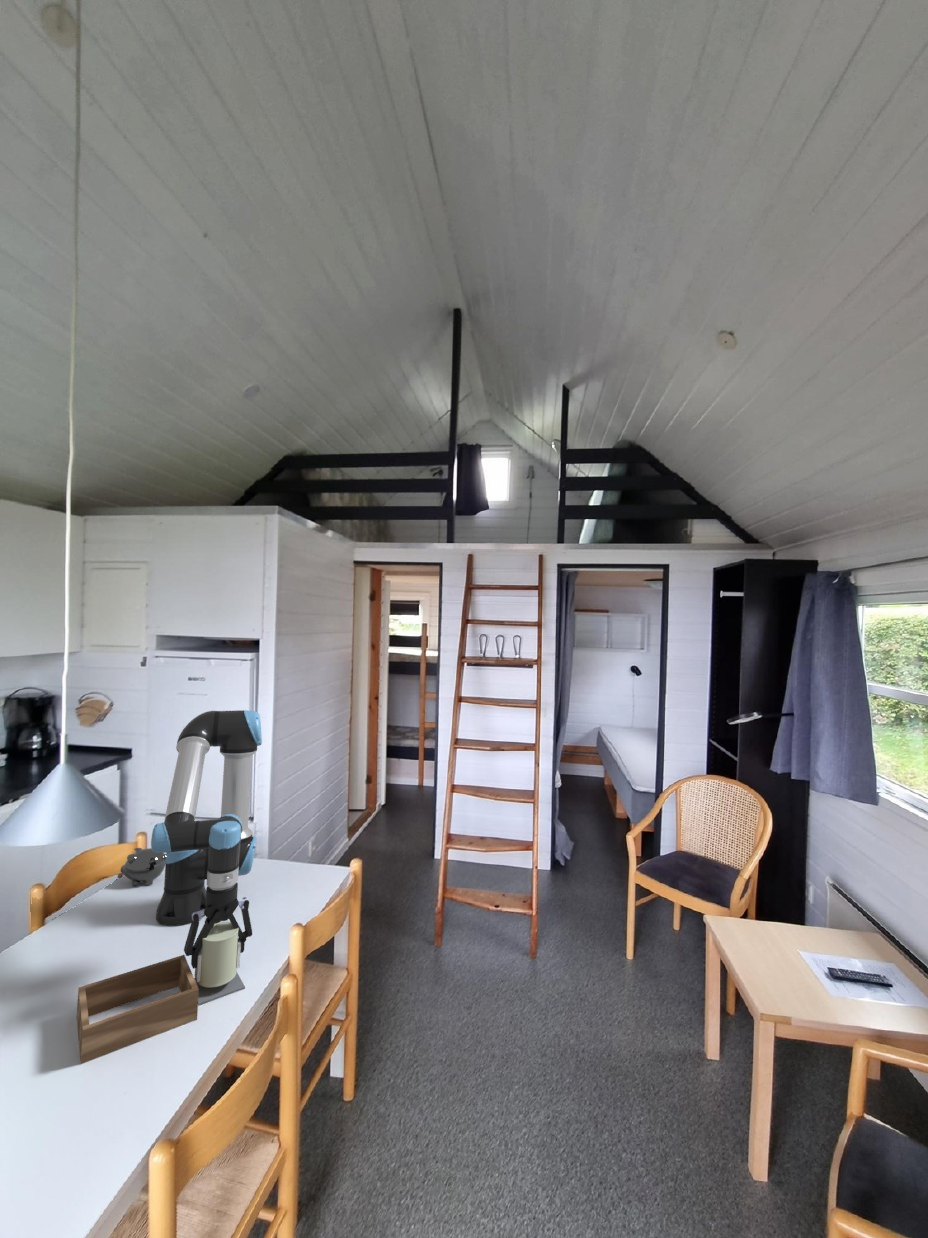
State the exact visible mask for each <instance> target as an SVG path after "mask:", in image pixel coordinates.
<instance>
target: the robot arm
mask: <svg viewBox="0 0 928 1238" xmlns="http://www.w3.org/2000/svg"><path fill="white" fill-rule="evenodd" d="M261 724H262V723H261V716H260V713H259V712H258V711H255V710H247V709H245V710H244V709H243V710H239V709H237V710H209V711H205V712H202V713H201V714H198V715H197V716H195V717H194V718H192V720H190V721H189V722H188V723H187V724H186V725H185V727H183V729H182V731H181V732H180V734H179V736H178V738H177V742H176V747H175V748H176V751H177V753H178V755H177V759H176V764H175V769H174V773H173V778H172V783H171V787H170V792H169V796H168V801H167V807H166V809H165V811H166V812H165V816H164V821H163V822H160V823H159V822H158V823H156V824H155V825H154V827H153V829H152V833H151V841H150V848H151V849H152V851H153V852H155V853H164V854H166V859H165V863H166V864H165V868H164V884H163V886H164V887H163V893H162V895H161V899H160V901H159V903H158V906H157V908H156V912H155V920H156V922H157V923H158V924H161V925H163V926H169V927H171V926H172V927H173V926H174V927H175V926H177V927H178V926H182V925H183V926H184V925H188V924H190V926H189V930H188V933H187V937H186V941H185V944H184V947H183V952H184V953H185V954H184V955H185V957H189V956H191V961H190V965H191V967H192V969H194V978H195V979H196V981H197V982H199V981H200V976H201V959H202V955H201V953H200V950H201V948H202V946H203V940H202V939H203V938H207V936H208V934H209V932H210V930H211V929H212V928H213V926H214V924H216V923H219V922H228V920H229V922H231V924H232V926H233V927H234V929H237V928H239V930H238V941H237V958H236V969H239V968H240V966H241V965H240V964H241V954H242V953H244V951H245V946H246V945H245V943H246V941H247V938H250V937H252V936H253V929H252V923H251V918H250V912H249V907H250V900H249V899H248V898H247V897H246V896H245V897H243V898H241V899H238V889H239V884H238V881H239V877H242V876H246V875H248V874H249V873H251V871H252V868H253V863H254V858H255V853H256V845H257V840H258V839H257V837H256V836H253V831H252V829H251V828H250V827H249V819H250V818H249V815H250V799H251V797H250V796H251V781H252V780H251V777H252V761H253V755H254V754H256V753H257V752H258V747H259V746H262V744H263V737H262V735H263V734H262V725H261ZM211 747H215V748H216V747H219V753H220V754H221V755H222V756H223V775H222V776H223V777H222V791H221V792H222V793H221V808H220V817H219V818H217V819H215V818H214V819H203V820H195V819H196V815H197V810H198V809H197V807H198V801H199V795H200V789H201V785H202V784H201V782H202V777H203V770H204V765H205V760H206V759H205V758H206V755H207V753H208V752H209V751H210V748H211ZM205 880H206V881H205ZM205 883H206V886H207V887H206V886H205ZM237 908H239V909H240V911H241V916H242V921H243V926H244V927H243V928H244V931H243V930H242V928H241V927H240V924H239V923H238V921H237V919H236V917H235V914H234V912H235V911H236V909H237ZM203 917H206V918H205V920H204V924H203V926H202V927H201V930H200V932H199V934H198V936H197V933H198V929H199V926H200V921H202V919H203ZM196 937H197V938H196Z"/></svg>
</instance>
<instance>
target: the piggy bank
mask: <svg viewBox="0 0 928 1238" xmlns="http://www.w3.org/2000/svg"><path fill="white" fill-rule="evenodd" d="M134 851H135V852H134V853H131V854H129V855H127V857H126V861H125V863H124V864H122V866H121V867H120V873H122V874H123V875H124V877H125V878H127V879H128V880H130V881H132V884H131V885H132V887H137V886H138V885H139V884H140V883H141V882H142V883H143V882H145V885H146V886H147V887H148V886H149V887H150V886H152V885H153V884H154V880H155V879H157V878H158V877H160V876H161V874H162V873H163V871H165V865H166V863H165V859H166V853H155V852H153V851H152V849H151V847H150V848H142V847H134Z"/></svg>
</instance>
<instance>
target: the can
mask: <svg viewBox="0 0 928 1238" xmlns="http://www.w3.org/2000/svg"><path fill="white" fill-rule="evenodd" d="M238 930H239V928H237V929H234V927H233V926H232V924H231V922H230V921H221V922H219V923H216V924H214V926H213V928H212V929H211V930H210V932H209V934H208V936H207V938H203V939H202V940H203V946H202V948H201V950H200V953H201V955H202V959H201V976H200V981H199V982H198V983H199V984H200V985H201V986H203V987H218V986H222V985H224V984H226V983H228V982H230V981H231V980H232V979H233V978H234V977H235V975H236V971H237V968H236V958H237V941H238V939H239V937H238Z"/></svg>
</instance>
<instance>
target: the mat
mask: <svg viewBox="0 0 928 1238" xmlns="http://www.w3.org/2000/svg"><path fill="white" fill-rule="evenodd" d="M194 979H195V977H194ZM195 981H196V979H195ZM196 984H197V986H198V989H199V995H198V1007H199V1006H201V1005H203V1004H204V1005H205V1004H206V1003H209V1002H213V1001H215V1000H218V999H220V998H223V997H226V996H228V995H231V994H233V993H237V992H239V991H241V990H244V989H246V986H245V985H244V982H243V980H242V979H241V977H240V975H239V973H238V971H237V970H236V975H235V977H234V978H233V979H232V980H231V981H230V982H228V983H226V984H224V985H222V986H218V987H203V986H201V985H200V984H199V983H198V982H197V981H196Z"/></svg>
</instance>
